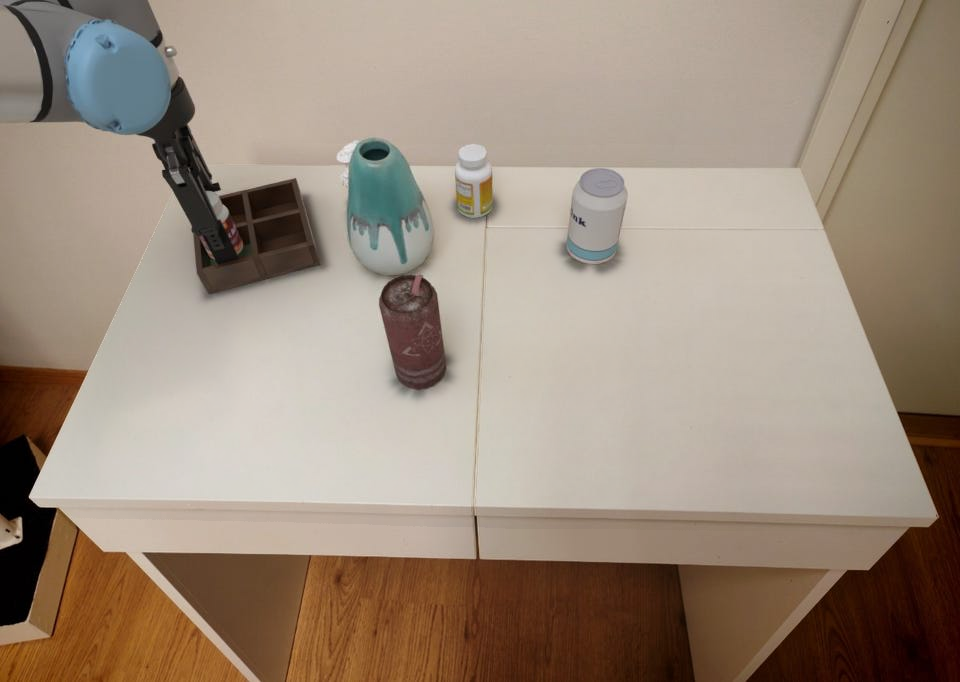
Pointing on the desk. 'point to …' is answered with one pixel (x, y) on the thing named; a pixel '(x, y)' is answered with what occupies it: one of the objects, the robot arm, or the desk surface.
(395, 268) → the vase
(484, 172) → the supplement bottle
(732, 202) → the desk surface
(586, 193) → the beverage can
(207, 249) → the pill bottle
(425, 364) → the red cylinder
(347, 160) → the flower shoulder figurine
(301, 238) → the holder
